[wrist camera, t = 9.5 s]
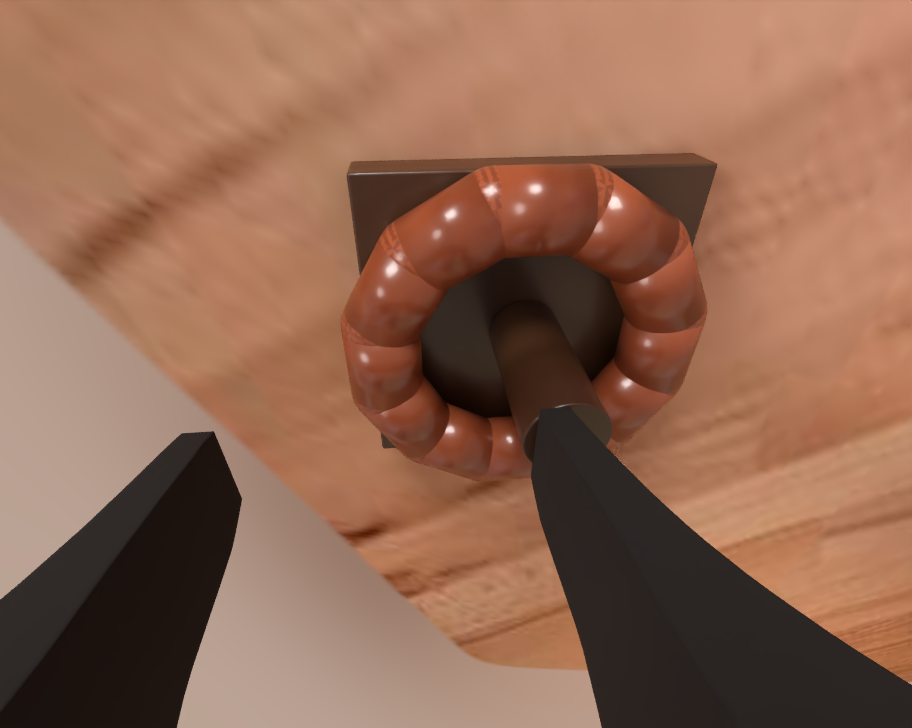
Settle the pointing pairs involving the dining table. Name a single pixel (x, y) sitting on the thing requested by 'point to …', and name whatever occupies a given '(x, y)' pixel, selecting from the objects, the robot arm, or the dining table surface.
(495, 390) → the stand
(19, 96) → the dining table surface
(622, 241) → the hoop
